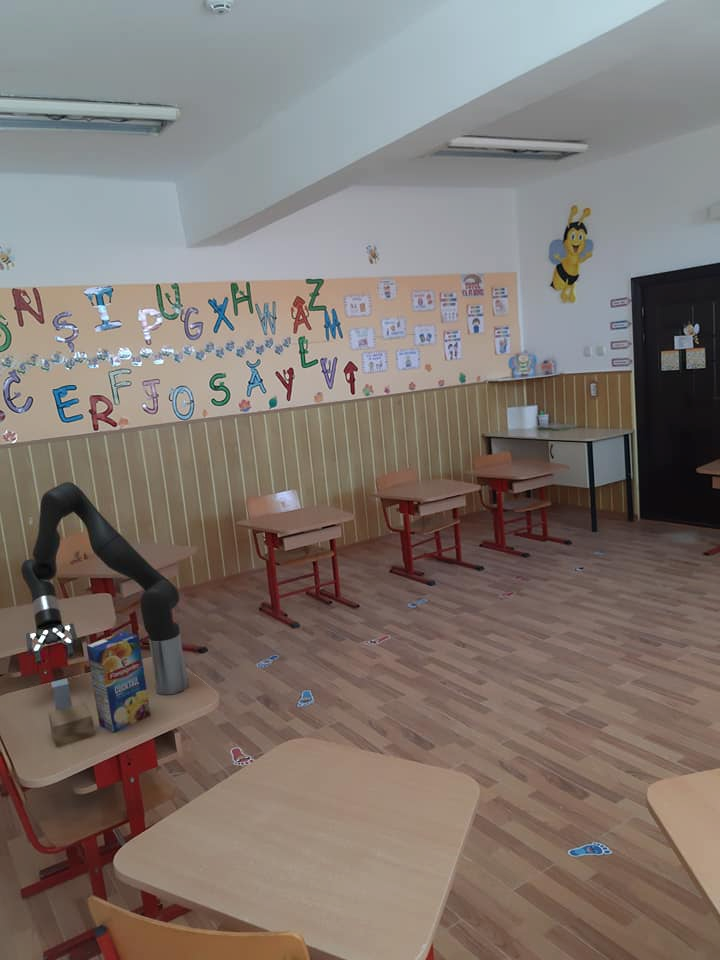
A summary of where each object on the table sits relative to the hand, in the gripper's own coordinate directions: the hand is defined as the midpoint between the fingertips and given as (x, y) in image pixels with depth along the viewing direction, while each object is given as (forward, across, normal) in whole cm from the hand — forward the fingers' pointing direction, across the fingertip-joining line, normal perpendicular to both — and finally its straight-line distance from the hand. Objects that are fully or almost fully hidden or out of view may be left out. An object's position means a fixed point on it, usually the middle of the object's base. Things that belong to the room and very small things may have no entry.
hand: (55, 660), depth 225 cm
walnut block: (+27, +1, -7) cm, 27 cm away
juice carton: (+27, +15, -8) cm, 32 cm away
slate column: (+17, 0, +3) cm, 17 cm away
